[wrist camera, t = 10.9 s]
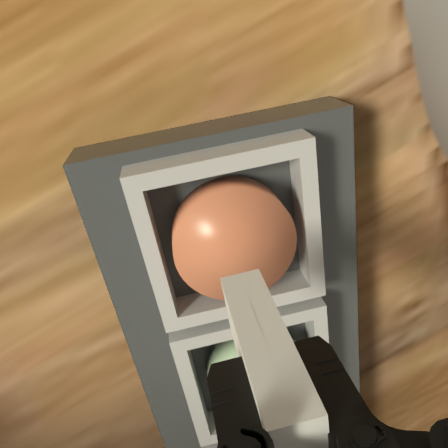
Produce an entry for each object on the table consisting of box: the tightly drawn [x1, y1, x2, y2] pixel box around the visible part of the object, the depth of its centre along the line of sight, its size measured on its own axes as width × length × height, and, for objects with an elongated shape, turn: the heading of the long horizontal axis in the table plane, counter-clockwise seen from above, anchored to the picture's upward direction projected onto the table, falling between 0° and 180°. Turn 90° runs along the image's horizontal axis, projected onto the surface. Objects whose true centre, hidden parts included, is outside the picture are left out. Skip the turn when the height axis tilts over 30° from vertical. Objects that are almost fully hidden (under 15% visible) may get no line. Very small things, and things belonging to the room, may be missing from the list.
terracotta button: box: [171, 176, 297, 300], centre depth 20 cm, size 6×6×2 cm
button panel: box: [63, 96, 360, 448], centre depth 26 cm, size 14×29×5 cm, turn 10°
